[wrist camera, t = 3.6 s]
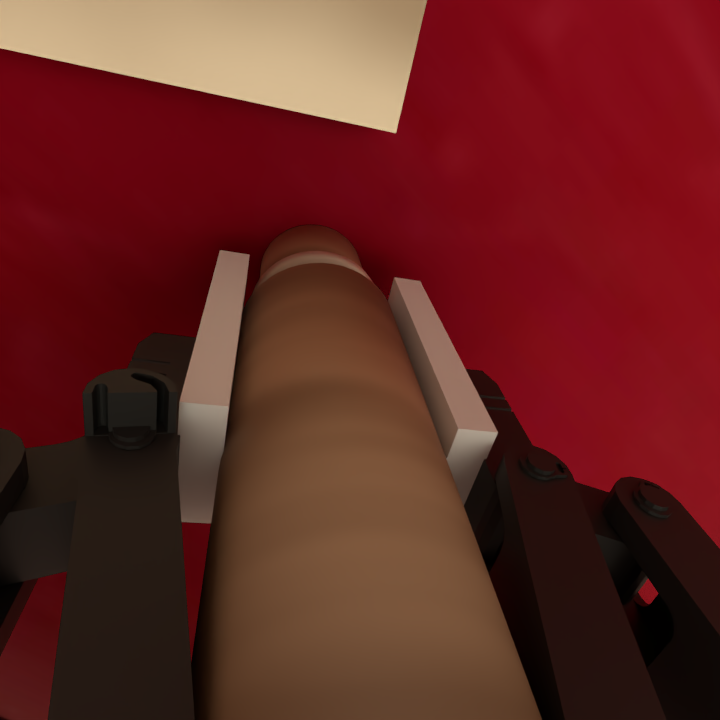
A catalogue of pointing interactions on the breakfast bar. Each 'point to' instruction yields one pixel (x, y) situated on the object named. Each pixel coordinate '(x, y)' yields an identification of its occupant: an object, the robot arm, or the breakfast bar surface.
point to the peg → (341, 522)
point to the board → (238, 48)
